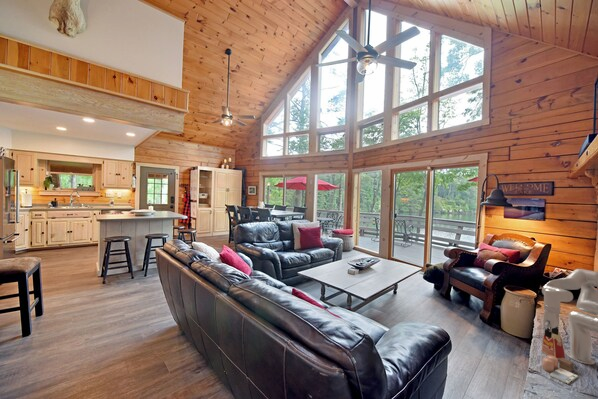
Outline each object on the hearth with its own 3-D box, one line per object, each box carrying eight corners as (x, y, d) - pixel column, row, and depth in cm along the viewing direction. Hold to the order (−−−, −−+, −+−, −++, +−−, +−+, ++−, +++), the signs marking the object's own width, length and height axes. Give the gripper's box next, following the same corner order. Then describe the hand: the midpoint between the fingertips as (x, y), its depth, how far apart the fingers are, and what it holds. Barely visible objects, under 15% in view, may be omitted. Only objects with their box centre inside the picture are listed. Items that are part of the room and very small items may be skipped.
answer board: (559, 369, 160) (559, 367, 160) (577, 377, 153) (577, 375, 153) (549, 375, 154) (549, 373, 154) (568, 384, 146) (568, 382, 146)
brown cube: (562, 365, 164) (562, 357, 164) (573, 369, 159) (573, 362, 159) (559, 367, 162) (559, 359, 162) (570, 372, 157) (570, 364, 157)
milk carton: (552, 351, 179) (552, 323, 179) (566, 359, 170) (566, 330, 170) (539, 351, 179) (540, 323, 179) (553, 359, 170) (553, 330, 170)
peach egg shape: (549, 363, 165) (549, 354, 165) (559, 368, 161) (559, 358, 161) (545, 365, 163) (545, 356, 163) (556, 370, 159) (556, 360, 159)
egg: (544, 366, 162) (544, 357, 162) (555, 371, 158) (555, 361, 158) (541, 368, 160) (541, 359, 160) (551, 373, 156) (551, 363, 156)
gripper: (550, 304, 169) (549, 330, 169) (538, 308, 161) (537, 335, 161) (565, 309, 162) (565, 335, 162) (553, 313, 154) (553, 341, 154)
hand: (551, 335), depth 161 cm, fingers open, 9 cm apart
